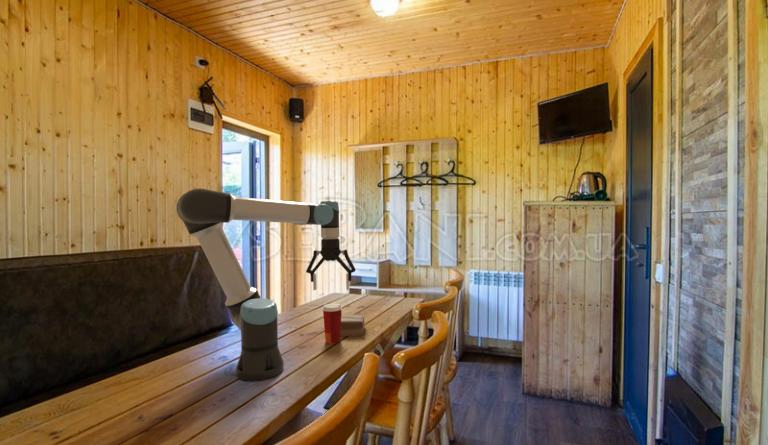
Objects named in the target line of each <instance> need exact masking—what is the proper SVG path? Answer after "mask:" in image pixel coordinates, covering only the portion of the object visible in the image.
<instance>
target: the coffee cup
mask: <svg viewBox="0 0 768 445" xmlns="http://www.w3.org/2000/svg"><path fill="white" fill-rule="evenodd" d="M342 309H343V307H342V305H341V304H339V303H327V304H324V305H323V307H322V309H321V310H322V313H323V325H324V327H323V328H324V338H325V343H326V344H328V345H334V344H338V343H340V342H341V336H340V334H341V315H342Z"/></svg>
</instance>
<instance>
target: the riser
mask: <svg viewBox="0 0 768 445" xmlns="http://www.w3.org/2000/svg"><path fill="white" fill-rule="evenodd" d="M364 331H365V314H341V334H340V337H359V336H360V337H361V336H364Z"/></svg>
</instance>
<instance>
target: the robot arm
mask: <svg viewBox="0 0 768 445" xmlns="http://www.w3.org/2000/svg"><path fill="white" fill-rule="evenodd" d="M339 208H340V206H339V202H338V201H336V200H322V201H320V203H307V202H297V201H284V200H276V199H265V198H253V197H252V198H251V197H241V196H234V195H233V194H232V193H231V192H224V191H223V192H222V191H216V190H210V189H205V188H194V189H191V190H188V191H186V192H185V193H183V194H182V195H181V196H180V197H179V199H178V201H177V203H176V214H177V216H178V217H179V219H180V220H182V222H183V224H184V226H185V228H186V230H187V232H188V234H189V236H191V237H195V238H196V239H197V240H198V243H199V244H200V247H201V249H202V250H203V252H204V255H205V256H206V259H207V260H208V263H209V264H210V266H211V269H212V270H213V273H214V274H215V276H216V279H217V280H218V283H219V284H220V286H221V290H222V291H223V293H224V294H225V296H226V300H225V303H224V305H225V307H226V309H227V310H228V311H227V312H228V313H229V315H230V320H231V322H232V323H233V324H234V326H235V327H237V328H238V329H239V330H240V338H241V339H240V342H241V344H240V347H241V350H240V351H241V352H240V355H239V358H238V360H237V361H238V362H237V365H236V369H235V375H236V377H237V378H238V379H239V380H242V381H247V382H253V381H254V382H255V381H262V380H268V379H270V378H274V377H276V376H278V375H280V374H282V373H283V371H284V368H285V363H284V359H283V356H282V353H281V351H280V348H279V342H278V341H279V338H278V337H279V334H278V333H279V331H278V324H279V323H278V315H279V312H278V311H279V310H278V306H277V302H275V301H274V300H272V299H269V298H264V297H263V298H262V297H261V295H260V293H259V291H258V290H257V288H256V287H253V286H251V285H250V283H249V281H248V279H247V277H246V275H245V273H244V270H243V268H242V267H241V265H240V262H239V259H238V258H237V256H236V254H235V252H234V250H233V248H232V245H231V244H230V242H229V240H228V238H227V235H226V234H225V233H226V232H225V231H224V229H223V224H224V223H227V224H229V223H230V222H232V221H246V222H247V221H248V222H249V221H250V222H262V223H263V222H264V223H268V222H269V223H282V224H283V223H285V224H287V223H288V224H293V225H297V226H298V225H299V226H303V225H304V226H305V225H306V226H307V225H308V226H309V225H310V226H311V225H315V226H316V225H319V226H320V237H321V241H320V242H321V243H320V246H321V248H320V250H317V249H315V250H314V251H313V253H312V254H313V255H312V257H311V260H310V262H309V263H308V266H307V268H306V271H305V272H306V273H307V274H309V275H310V282H311V283H313V284H312V285H313V289H312V290H313V291H316V290H317V273H316V272H317V270H318V269H319V267H321V265H322V264H323V263H324V262H325V261H326V262H329V261H332V262H334V261H336V262H338V264H340V266H341V267H342V268H343V269H344V270H345V272H346V275H345V276H346V277H345V278H346V279H345V280H346V282H345V283H346V290H350V282H351V281H352V273H355V272H356V267H355V265H354V263H353V262H352V260H351V258H350V256H349V252H348V249H342V250H341V246H340V244H341V243H340V209H339ZM341 254H342V256H344V258H345V260H346V261H347V263H348V265H349V266H348V265H347V264H346V262H344V260H342V258H341V257H340V255H341ZM319 255H321V259H320V260H319V261H318V262H317V263H316V265H315V266H314V267H313V265H314V264H315V261H316V259H317V257H318V256H319ZM312 268H313V269H312Z"/></svg>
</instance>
